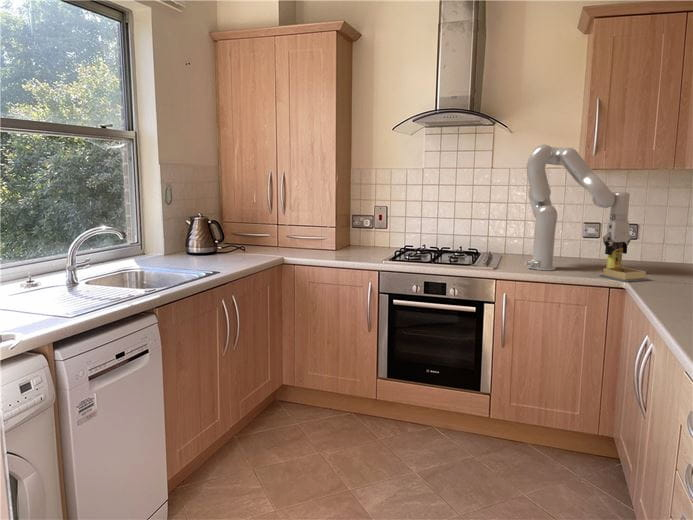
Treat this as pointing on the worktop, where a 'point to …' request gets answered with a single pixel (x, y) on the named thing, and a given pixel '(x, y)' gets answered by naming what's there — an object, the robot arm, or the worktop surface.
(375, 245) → the worktop surface
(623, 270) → the yellow square tray
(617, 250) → the sauce bottle
